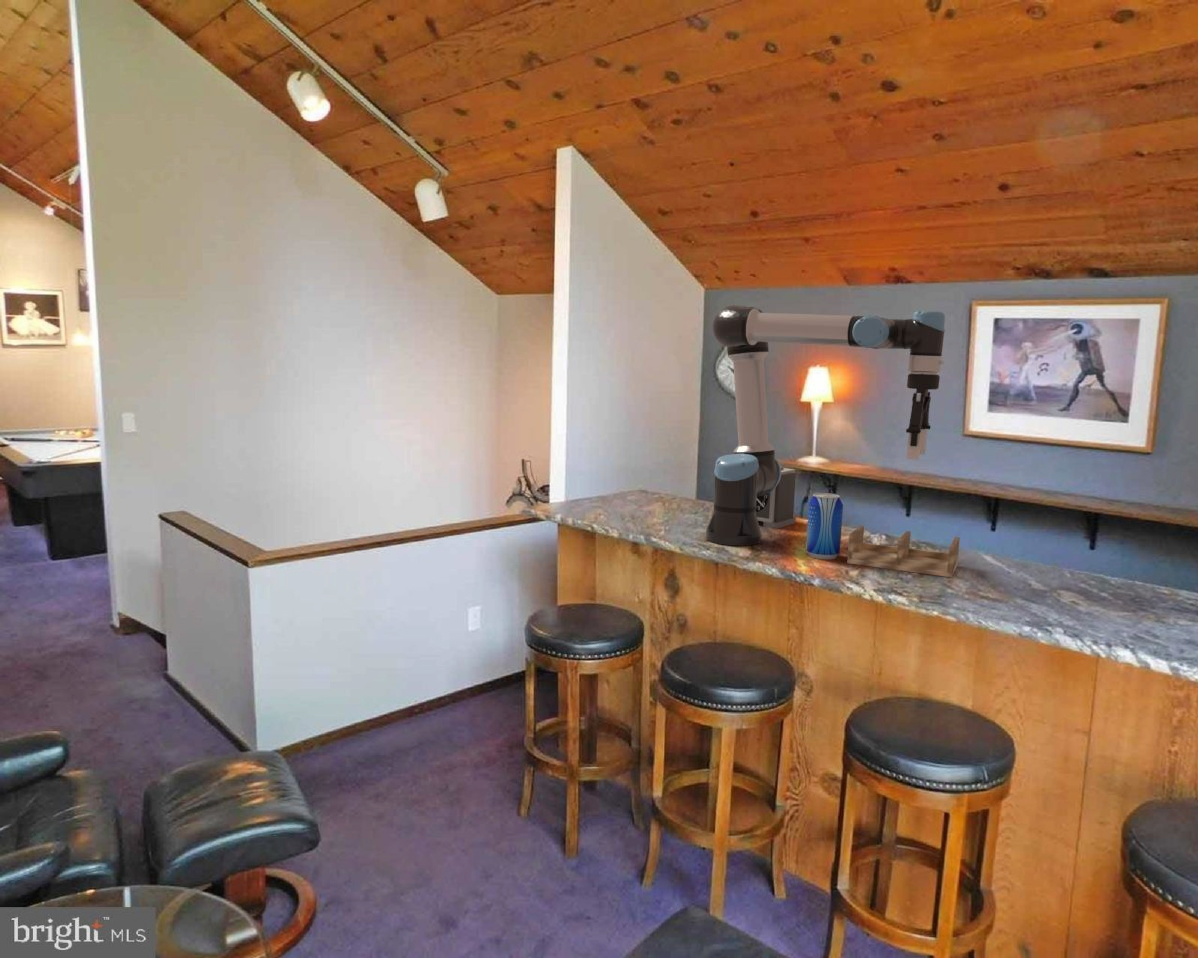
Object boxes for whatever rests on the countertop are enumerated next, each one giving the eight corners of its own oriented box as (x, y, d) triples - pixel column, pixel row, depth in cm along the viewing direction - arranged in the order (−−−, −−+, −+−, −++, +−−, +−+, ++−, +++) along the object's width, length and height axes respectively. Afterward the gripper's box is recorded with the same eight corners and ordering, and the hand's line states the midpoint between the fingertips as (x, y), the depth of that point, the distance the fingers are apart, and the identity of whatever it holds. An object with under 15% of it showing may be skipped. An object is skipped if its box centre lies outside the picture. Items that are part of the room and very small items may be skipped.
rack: (847, 562, 200) (849, 534, 199) (858, 552, 211) (860, 525, 210) (951, 577, 188) (954, 547, 187) (957, 565, 199) (959, 537, 198)
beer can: (841, 561, 201) (845, 498, 199) (806, 559, 203) (810, 496, 200) (838, 553, 209) (842, 493, 207) (804, 551, 211) (808, 491, 208)
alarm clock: (723, 519, 251) (726, 461, 248) (745, 514, 261) (748, 458, 258) (776, 528, 239) (779, 468, 236) (797, 522, 249) (800, 464, 246)
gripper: (934, 374, 190) (926, 462, 194) (944, 373, 212) (936, 452, 215) (901, 373, 194) (893, 460, 197) (914, 372, 215) (907, 450, 219)
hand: (916, 456), depth 206 cm, fingers open, 13 cm apart
